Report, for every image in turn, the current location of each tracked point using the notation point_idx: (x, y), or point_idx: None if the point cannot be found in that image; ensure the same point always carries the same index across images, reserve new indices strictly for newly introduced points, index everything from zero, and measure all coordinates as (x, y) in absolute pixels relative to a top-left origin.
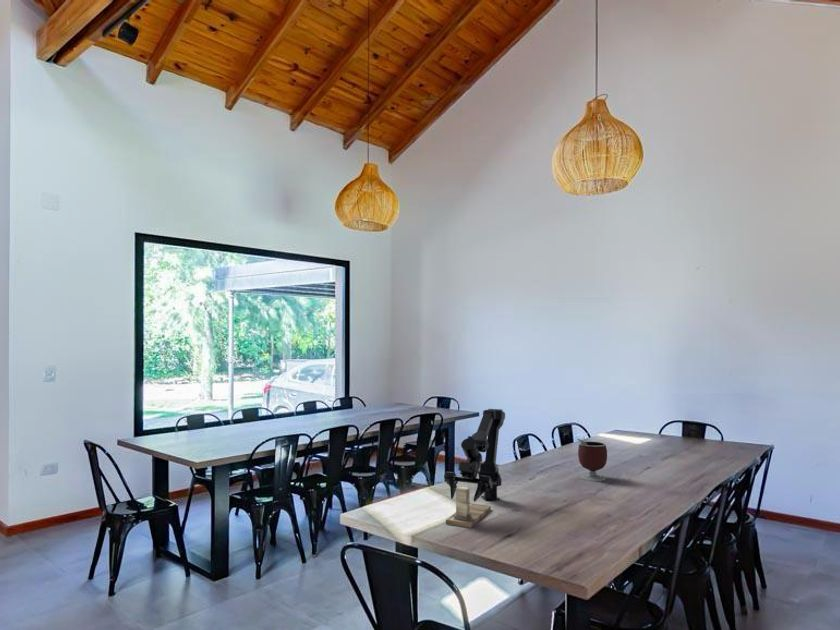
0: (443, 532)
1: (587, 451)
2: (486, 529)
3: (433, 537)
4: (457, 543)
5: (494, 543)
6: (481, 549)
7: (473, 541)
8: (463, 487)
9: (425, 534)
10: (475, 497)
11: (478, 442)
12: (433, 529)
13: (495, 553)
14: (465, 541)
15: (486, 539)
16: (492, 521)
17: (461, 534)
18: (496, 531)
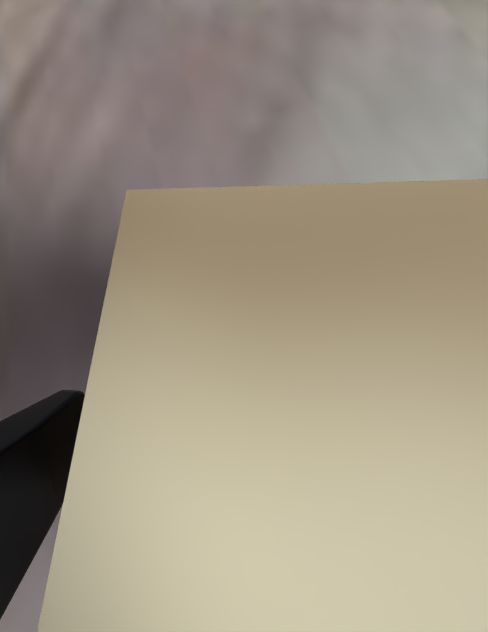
0: (367, 138)
1: None
2: (76, 319)
3: (389, 41)
4: (211, 33)
5: (12, 117)
6: (73, 27)
7: (129, 93)
8: (343, 605)
9: (472, 57)
10: (13, 419)
11: None
12: (473, 159)
13: (5, 19)
14: (174, 74)
15: (59, 149)
16: (42, 555)
17: (229, 157)
18: (3, 307)
